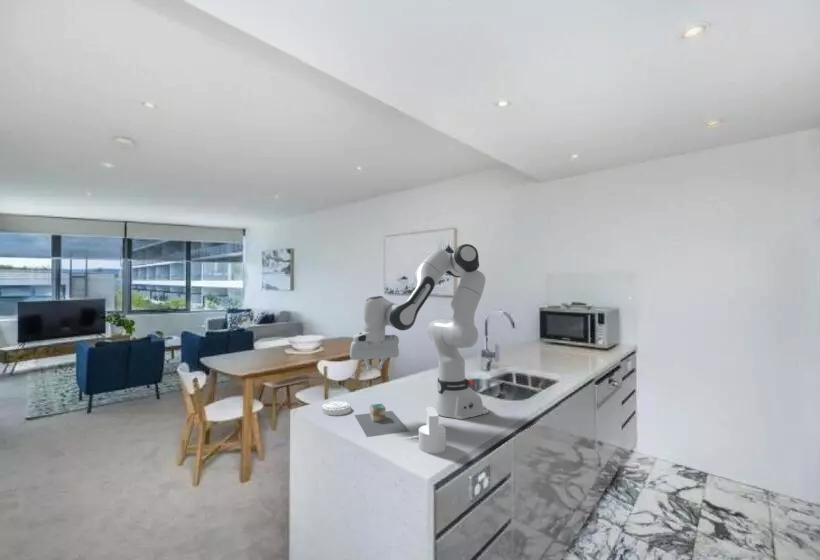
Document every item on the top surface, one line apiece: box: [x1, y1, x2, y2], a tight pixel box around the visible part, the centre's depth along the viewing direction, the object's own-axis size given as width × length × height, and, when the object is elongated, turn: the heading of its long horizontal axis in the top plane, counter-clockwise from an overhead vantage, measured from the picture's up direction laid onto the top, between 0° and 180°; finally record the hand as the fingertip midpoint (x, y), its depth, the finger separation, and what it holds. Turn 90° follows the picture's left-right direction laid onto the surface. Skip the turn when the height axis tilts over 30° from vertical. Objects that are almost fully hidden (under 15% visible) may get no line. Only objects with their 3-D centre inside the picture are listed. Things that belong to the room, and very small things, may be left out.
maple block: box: [369, 403, 386, 422], centre depth 152 cm, size 5×5×5 cm
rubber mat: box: [354, 410, 410, 438], centre depth 148 cm, size 16×23×1 cm
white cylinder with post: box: [418, 406, 447, 455], centre depth 128 cm, size 9×9×12 cm
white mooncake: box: [321, 399, 352, 416], centre depth 162 cm, size 12×12×4 cm
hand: (374, 369), depth 158 cm, fingers open, 3 cm apart
